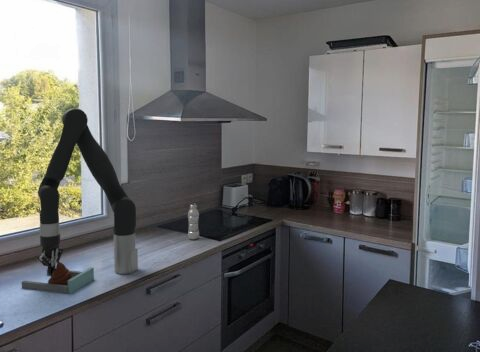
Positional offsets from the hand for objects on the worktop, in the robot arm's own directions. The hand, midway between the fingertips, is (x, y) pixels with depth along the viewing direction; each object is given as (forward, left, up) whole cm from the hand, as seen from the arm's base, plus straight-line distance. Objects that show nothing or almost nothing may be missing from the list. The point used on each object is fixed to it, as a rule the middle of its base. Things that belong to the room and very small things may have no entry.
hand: (51, 274), depth 170 cm
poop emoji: (-5, 0, -4) cm, 6 cm away
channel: (-3, 0, -4) cm, 4 cm away
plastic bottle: (-34, -75, -4) cm, 83 cm away
